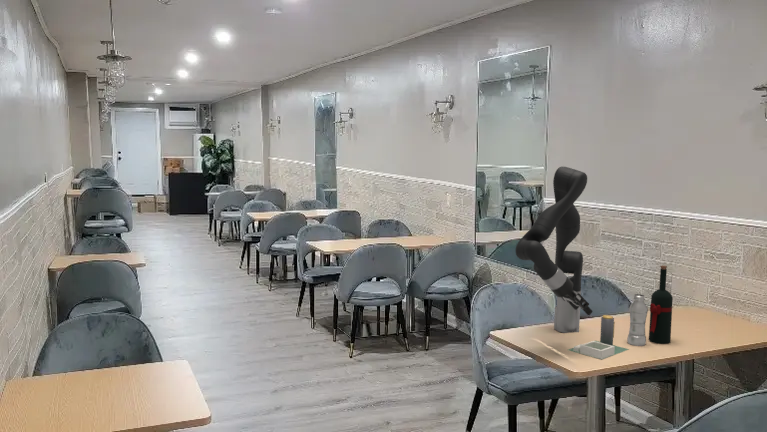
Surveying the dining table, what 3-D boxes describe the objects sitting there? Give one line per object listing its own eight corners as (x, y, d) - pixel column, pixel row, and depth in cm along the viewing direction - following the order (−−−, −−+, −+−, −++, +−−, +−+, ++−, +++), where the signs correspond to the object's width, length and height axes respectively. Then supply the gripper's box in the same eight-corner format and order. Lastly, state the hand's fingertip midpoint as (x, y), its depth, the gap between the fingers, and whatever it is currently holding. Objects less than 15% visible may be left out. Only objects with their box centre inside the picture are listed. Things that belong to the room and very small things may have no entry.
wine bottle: (641, 341, 251) (645, 265, 248) (655, 337, 257) (659, 263, 254) (660, 346, 245) (665, 269, 242) (674, 341, 251) (678, 266, 248)
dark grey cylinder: (604, 348, 237) (606, 318, 236) (597, 345, 241) (599, 315, 240) (616, 348, 238) (617, 317, 237) (609, 344, 242) (610, 314, 241)
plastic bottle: (623, 344, 247) (626, 293, 245) (640, 343, 248) (643, 293, 246) (631, 349, 241) (634, 297, 239) (649, 349, 241) (651, 297, 239)
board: (566, 353, 235) (567, 341, 235) (595, 343, 247) (595, 332, 247) (601, 362, 225) (601, 351, 224) (629, 352, 237) (629, 341, 236)
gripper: (574, 277, 225) (601, 307, 229) (553, 270, 238) (579, 298, 243) (560, 293, 224) (588, 323, 228) (540, 284, 238) (566, 313, 242)
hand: (583, 310), depth 235 cm, fingers open, 8 cm apart
